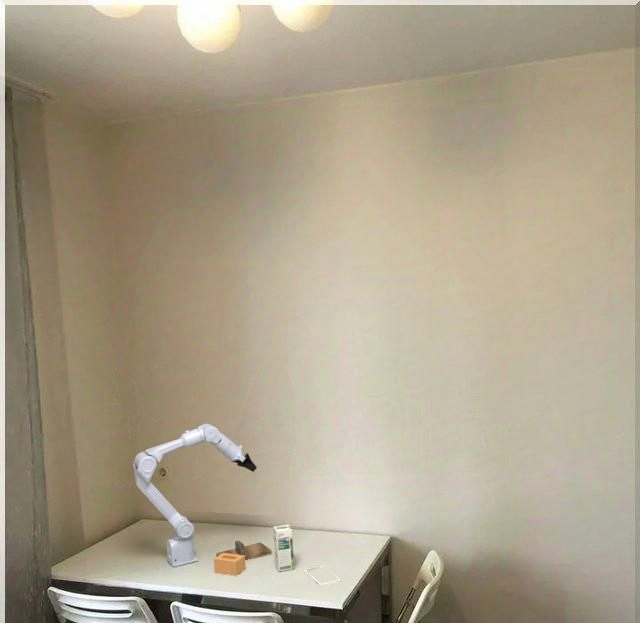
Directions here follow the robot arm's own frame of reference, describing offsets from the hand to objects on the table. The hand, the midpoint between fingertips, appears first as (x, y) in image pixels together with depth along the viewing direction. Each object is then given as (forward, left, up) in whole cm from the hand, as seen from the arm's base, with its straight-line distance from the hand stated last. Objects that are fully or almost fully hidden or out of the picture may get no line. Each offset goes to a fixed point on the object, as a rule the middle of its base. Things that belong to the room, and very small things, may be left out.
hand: (251, 467), depth 266 cm
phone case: (+6, -41, -31) cm, 52 cm away
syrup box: (-1, -27, -31) cm, 41 cm away
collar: (-18, -18, -30) cm, 39 cm away
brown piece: (-8, -7, -30) cm, 32 cm away
